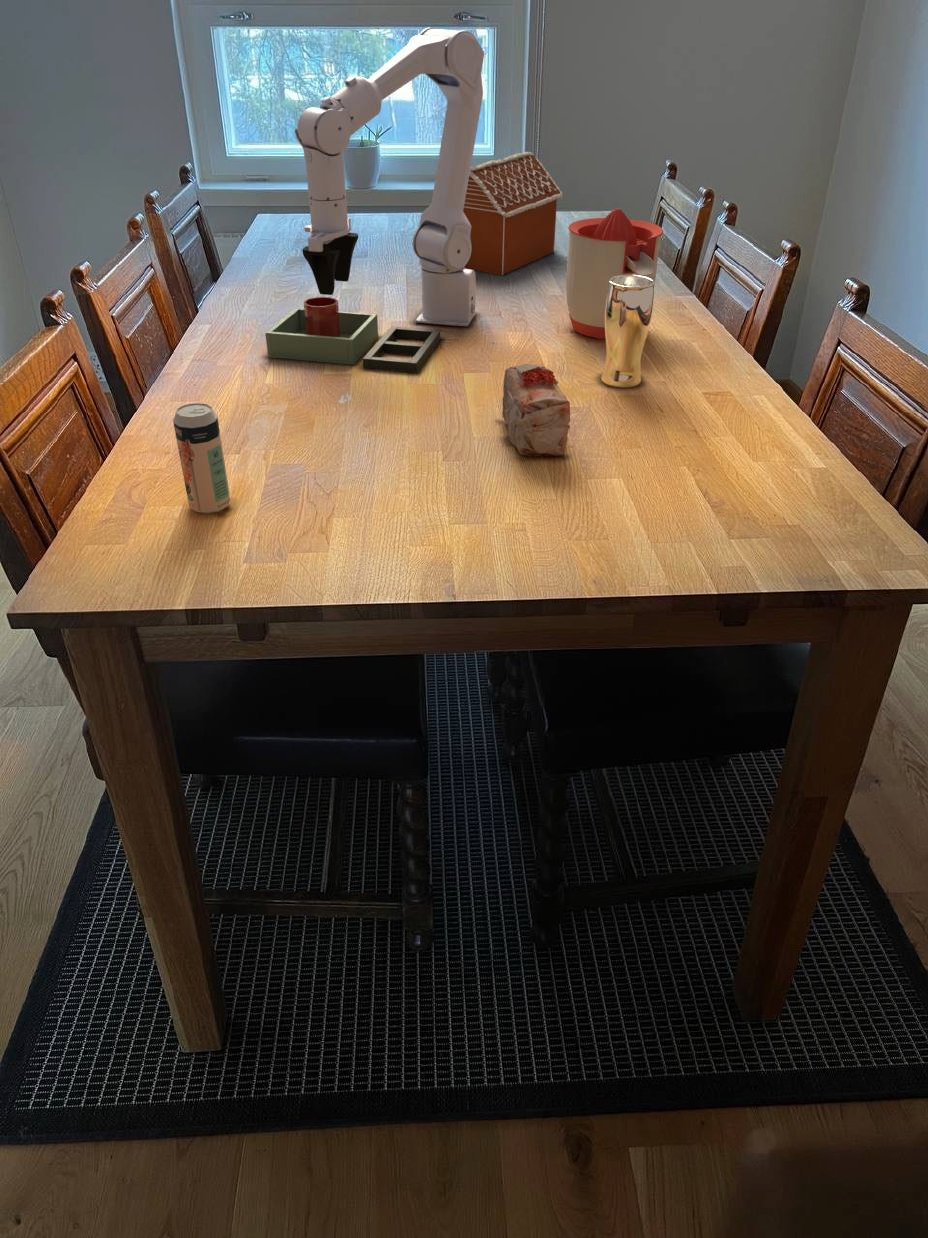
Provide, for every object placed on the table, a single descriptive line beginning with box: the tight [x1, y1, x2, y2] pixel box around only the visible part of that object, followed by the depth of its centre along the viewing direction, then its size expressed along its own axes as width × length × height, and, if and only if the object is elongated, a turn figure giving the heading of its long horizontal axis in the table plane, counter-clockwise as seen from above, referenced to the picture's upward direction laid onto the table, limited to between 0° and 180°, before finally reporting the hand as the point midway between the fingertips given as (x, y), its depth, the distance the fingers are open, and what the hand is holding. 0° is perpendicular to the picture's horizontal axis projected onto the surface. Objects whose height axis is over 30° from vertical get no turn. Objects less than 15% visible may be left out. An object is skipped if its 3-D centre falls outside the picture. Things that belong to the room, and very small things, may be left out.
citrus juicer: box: [565, 207, 664, 341], centre depth 155 cm, size 16×17×20 cm
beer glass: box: [600, 275, 656, 388], centre depth 137 cm, size 7×7×15 cm
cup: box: [303, 296, 341, 337], centre depth 150 cm, size 6×6×7 cm
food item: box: [501, 363, 571, 457], centre depth 120 cm, size 14×8×10 cm, turn 10°
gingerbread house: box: [442, 151, 564, 276], centre depth 194 cm, size 18×26×20 cm
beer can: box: [172, 402, 232, 515], centre depth 104 cm, size 5×5×12 cm
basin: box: [264, 307, 379, 366], centre depth 151 cm, size 15×14×4 cm
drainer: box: [362, 325, 442, 373], centre depth 150 cm, size 9×16×2 cm, turn 168°
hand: (334, 287), depth 149 cm, fingers open, 7 cm apart
